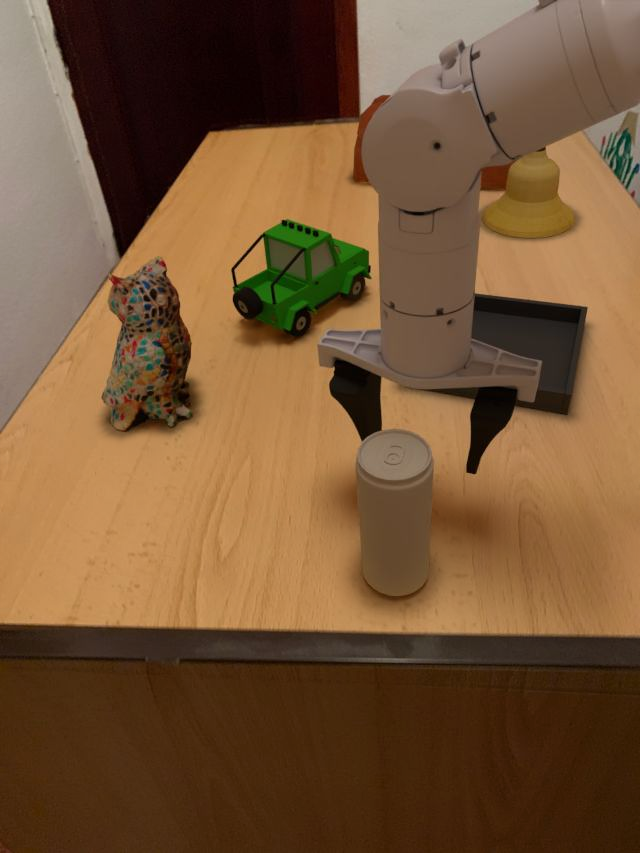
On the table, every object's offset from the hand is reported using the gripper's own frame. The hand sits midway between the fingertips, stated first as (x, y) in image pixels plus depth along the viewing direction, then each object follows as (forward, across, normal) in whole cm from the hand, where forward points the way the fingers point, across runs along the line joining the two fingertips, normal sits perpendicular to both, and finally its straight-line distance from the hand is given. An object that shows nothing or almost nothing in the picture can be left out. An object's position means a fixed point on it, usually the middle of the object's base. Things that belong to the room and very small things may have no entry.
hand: (422, 453), depth 49 cm
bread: (+6, +16, -70) cm, 72 cm away
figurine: (+6, +28, -5) cm, 29 cm away
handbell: (+6, 0, -55) cm, 55 cm away
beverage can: (+6, 0, +7) cm, 9 cm away
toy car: (+6, +21, -25) cm, 33 cm away
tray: (+6, -2, -22) cm, 23 cm away
